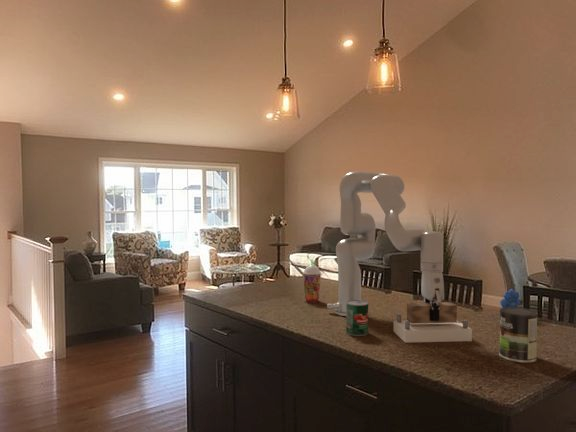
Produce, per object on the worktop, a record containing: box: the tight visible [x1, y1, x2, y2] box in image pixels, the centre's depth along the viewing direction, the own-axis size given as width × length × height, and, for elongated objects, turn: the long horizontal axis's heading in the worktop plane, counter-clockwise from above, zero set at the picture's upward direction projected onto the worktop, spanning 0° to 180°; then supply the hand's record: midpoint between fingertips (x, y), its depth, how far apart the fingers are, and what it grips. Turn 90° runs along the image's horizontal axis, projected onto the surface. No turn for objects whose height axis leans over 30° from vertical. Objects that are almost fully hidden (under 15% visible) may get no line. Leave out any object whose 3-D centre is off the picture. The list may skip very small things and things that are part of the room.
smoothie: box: [302, 258, 322, 303], centre depth 219 cm, size 8×8×20 cm
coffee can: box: [498, 306, 539, 364], centre depth 139 cm, size 10×10×14 cm
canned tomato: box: [345, 299, 369, 337], centre depth 165 cm, size 8×8×11 cm
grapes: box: [499, 288, 521, 310], centre depth 186 cm, size 12×7×12 cm, turn 121°
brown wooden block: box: [406, 301, 458, 323], centre depth 161 cm, size 16×5×6 cm, turn 95°
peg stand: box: [393, 314, 473, 343], centre depth 161 cm, size 23×13×6 cm, turn 94°
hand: (431, 318), depth 161 cm, fingers closed on brown wooden block, 4 cm apart
